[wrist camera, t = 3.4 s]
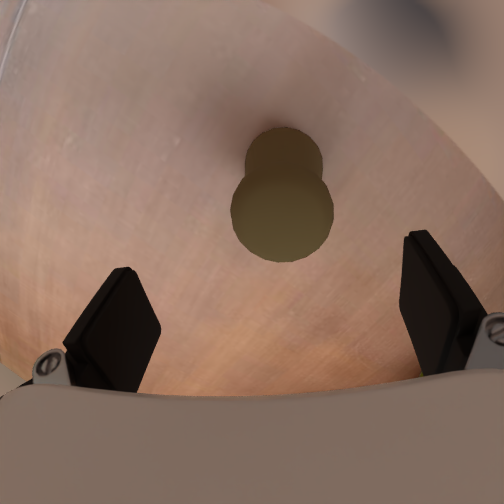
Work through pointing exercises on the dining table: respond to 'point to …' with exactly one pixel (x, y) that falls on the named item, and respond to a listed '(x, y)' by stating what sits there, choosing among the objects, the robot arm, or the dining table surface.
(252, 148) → the olive pawn
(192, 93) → the dining table surface
